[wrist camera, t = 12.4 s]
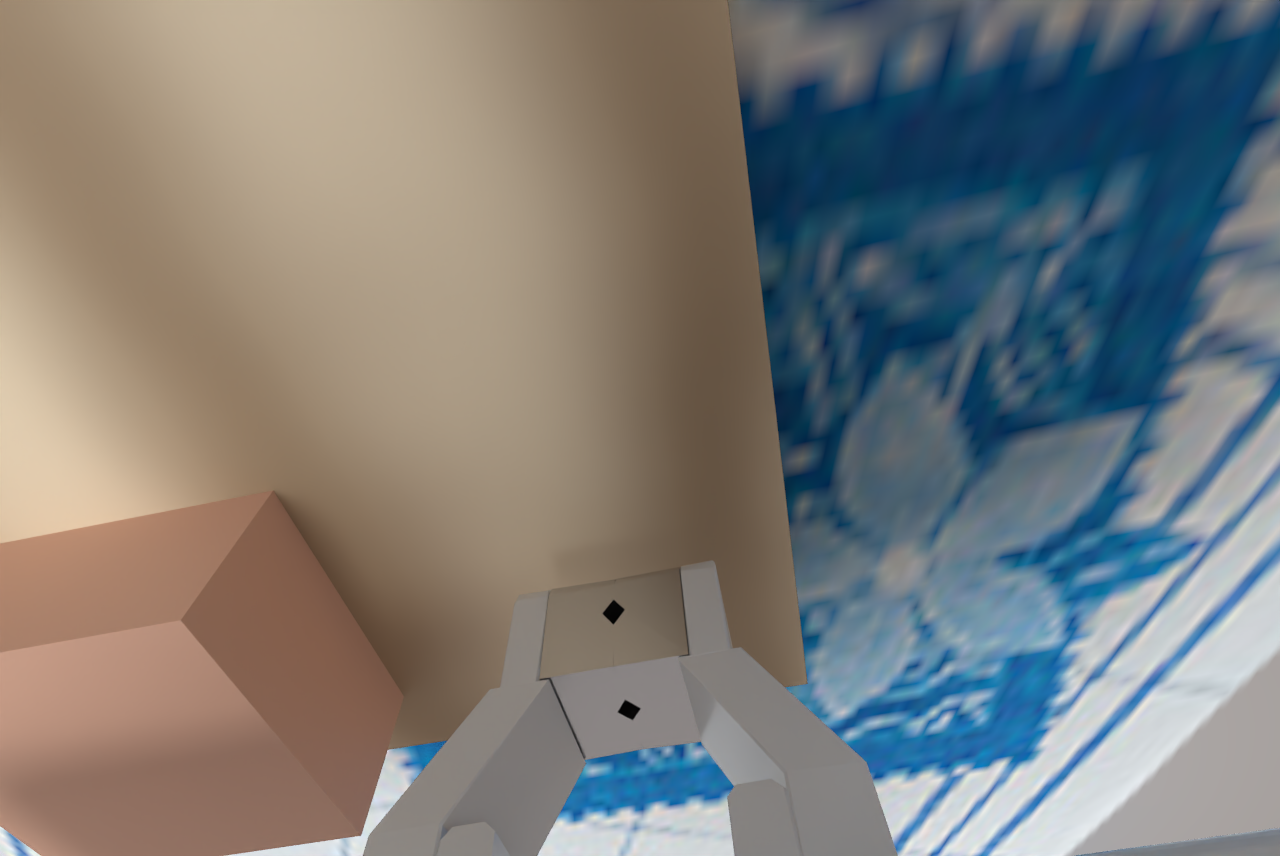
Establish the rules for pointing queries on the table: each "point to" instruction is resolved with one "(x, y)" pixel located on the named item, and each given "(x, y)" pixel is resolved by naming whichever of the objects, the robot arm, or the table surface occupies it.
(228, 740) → the terracotta tile
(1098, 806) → the table surface
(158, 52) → the board
